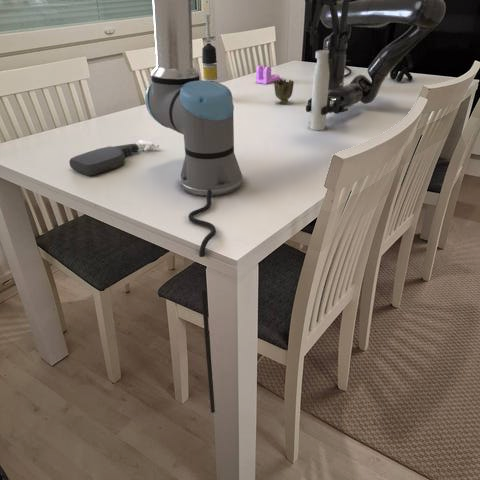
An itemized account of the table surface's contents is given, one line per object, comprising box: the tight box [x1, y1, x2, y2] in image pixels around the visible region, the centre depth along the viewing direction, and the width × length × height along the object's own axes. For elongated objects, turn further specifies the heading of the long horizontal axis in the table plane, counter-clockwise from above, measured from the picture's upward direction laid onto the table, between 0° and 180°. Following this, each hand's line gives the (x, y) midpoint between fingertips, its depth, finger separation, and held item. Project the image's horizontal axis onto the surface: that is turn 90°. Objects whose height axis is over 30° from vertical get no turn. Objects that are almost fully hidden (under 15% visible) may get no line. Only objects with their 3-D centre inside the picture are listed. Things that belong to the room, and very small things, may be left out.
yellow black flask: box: [201, 14, 219, 83], centre depth 171 cm, size 6×6×30 cm
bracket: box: [255, 65, 281, 85], centre depth 202 cm, size 13×6×7 cm, turn 143°
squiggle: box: [389, 52, 414, 83], centre depth 198 cm, size 11×10×15 cm
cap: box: [314, 49, 329, 60], centre depth 134 cm, size 4×4×2 cm
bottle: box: [309, 58, 330, 131], centre depth 140 cm, size 5×5×23 cm
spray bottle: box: [68, 139, 160, 177], centre depth 124 cm, size 3×11×24 cm
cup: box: [273, 78, 295, 105], centre depth 169 cm, size 8×7×8 cm
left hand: (322, 57), depth 134 cm, fingers closed on cap, 4 cm apart
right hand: (314, 110), depth 140 cm, fingers closed on bottle, 5 cm apart
